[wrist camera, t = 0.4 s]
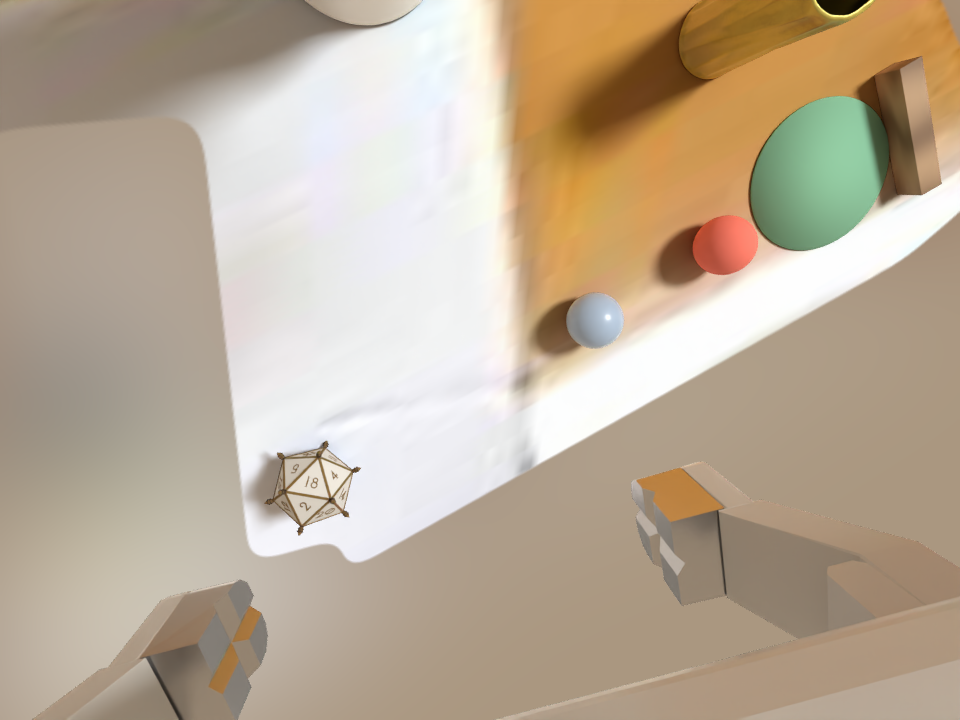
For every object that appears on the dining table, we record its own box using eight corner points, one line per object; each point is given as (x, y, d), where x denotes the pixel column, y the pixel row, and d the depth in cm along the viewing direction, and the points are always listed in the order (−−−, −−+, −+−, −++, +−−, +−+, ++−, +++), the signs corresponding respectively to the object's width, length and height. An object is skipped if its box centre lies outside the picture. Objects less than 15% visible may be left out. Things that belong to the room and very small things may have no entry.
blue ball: (557, 292, 47) (573, 305, 41) (609, 282, 47) (632, 294, 42) (562, 342, 49) (578, 361, 44) (613, 333, 49) (634, 350, 44)
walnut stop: (874, 75, 42) (899, 69, 40) (894, 63, 42) (922, 56, 40) (897, 194, 47) (921, 195, 44) (916, 183, 46) (941, 183, 44)
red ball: (681, 218, 45) (713, 223, 40) (735, 209, 45) (774, 212, 40) (681, 273, 47) (712, 284, 42) (733, 264, 47) (769, 273, 42)
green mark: (754, 110, 42) (756, 110, 42) (898, 84, 43) (900, 84, 43) (746, 261, 47) (747, 261, 47) (875, 236, 48) (876, 237, 48)
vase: (672, 78, 41) (789, 28, 27) (683, -6, 38) (817, -105, 25) (737, 80, 41) (882, 31, 28) (751, -3, 39) (917, -98, 26)
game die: (341, 436, 54) (385, 460, 47) (324, 507, 54) (365, 543, 46) (263, 429, 48) (299, 456, 41) (243, 509, 48) (276, 551, 40)
